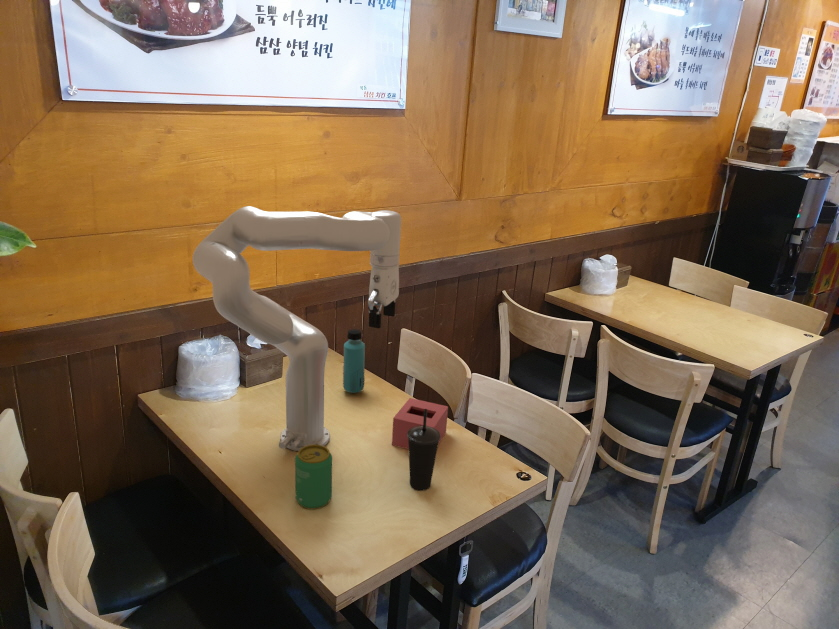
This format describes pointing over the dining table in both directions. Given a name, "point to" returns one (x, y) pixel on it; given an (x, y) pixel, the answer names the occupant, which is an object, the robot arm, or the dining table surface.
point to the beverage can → (313, 476)
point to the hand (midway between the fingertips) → (382, 321)
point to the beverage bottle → (354, 362)
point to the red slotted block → (418, 420)
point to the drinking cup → (422, 454)
